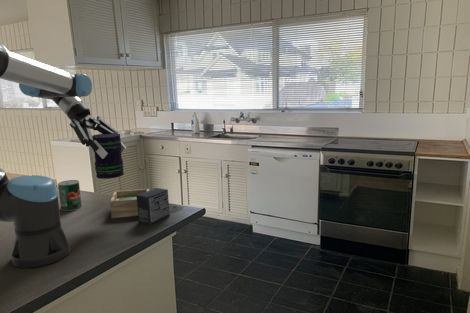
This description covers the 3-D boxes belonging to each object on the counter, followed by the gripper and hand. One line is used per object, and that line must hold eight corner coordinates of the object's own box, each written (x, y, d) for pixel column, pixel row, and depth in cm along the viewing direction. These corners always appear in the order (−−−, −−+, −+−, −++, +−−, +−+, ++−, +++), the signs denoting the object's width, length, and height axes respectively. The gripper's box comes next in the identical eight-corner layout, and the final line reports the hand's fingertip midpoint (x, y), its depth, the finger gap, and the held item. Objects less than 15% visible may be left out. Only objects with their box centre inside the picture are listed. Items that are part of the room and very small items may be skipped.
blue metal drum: (116, 170, 135) (112, 132, 132) (129, 174, 128) (125, 134, 125) (91, 175, 128) (86, 135, 125) (103, 180, 121) (98, 138, 118)
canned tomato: (66, 205, 148) (63, 180, 146) (84, 204, 148) (82, 179, 146) (57, 211, 140) (54, 185, 138) (77, 210, 140) (74, 184, 138)
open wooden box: (149, 214, 134) (148, 198, 133) (111, 218, 131) (110, 201, 130) (150, 203, 147) (149, 188, 146) (116, 206, 145) (114, 191, 143)
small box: (157, 212, 136) (156, 187, 134) (170, 215, 132) (168, 189, 130) (137, 221, 127) (135, 194, 125) (150, 225, 124) (148, 196, 122)
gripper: (91, 113, 139) (128, 153, 137) (45, 119, 118) (87, 167, 117) (101, 100, 136) (138, 141, 134) (55, 104, 116) (98, 152, 114)
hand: (115, 153), depth 126 cm, fingers closed on blue metal drum, 10 cm apart
